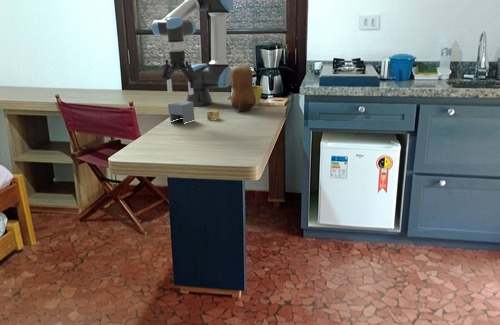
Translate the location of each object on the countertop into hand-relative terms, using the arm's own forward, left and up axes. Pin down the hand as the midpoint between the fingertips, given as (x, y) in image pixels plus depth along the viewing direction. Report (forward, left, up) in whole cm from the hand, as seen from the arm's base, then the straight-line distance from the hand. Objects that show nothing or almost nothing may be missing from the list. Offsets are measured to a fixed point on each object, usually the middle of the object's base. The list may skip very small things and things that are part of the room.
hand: (180, 93), depth 244 cm
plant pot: (+11, +53, -15) cm, 56 cm away
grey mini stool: (0, 0, -15) cm, 15 cm away
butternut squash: (+15, +35, -15) cm, 41 cm away
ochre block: (+11, +12, -15) cm, 22 cm away
